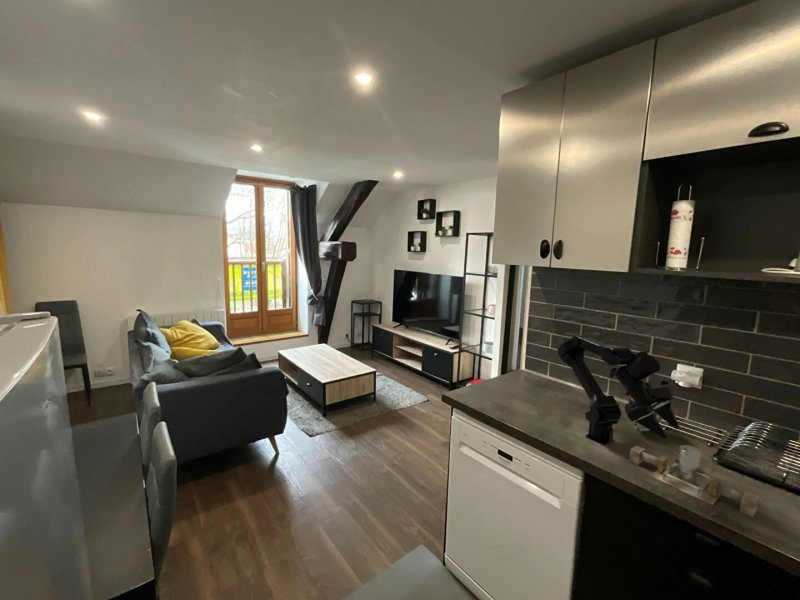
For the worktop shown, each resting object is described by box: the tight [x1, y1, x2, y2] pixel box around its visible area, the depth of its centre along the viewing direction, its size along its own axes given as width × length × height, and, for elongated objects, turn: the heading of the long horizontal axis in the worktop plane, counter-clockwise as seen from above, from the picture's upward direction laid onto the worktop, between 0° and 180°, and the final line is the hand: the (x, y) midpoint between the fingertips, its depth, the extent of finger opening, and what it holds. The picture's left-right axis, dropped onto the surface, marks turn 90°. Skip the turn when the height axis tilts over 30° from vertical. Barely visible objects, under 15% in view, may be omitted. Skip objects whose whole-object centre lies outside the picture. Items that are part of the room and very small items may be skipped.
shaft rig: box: [628, 445, 760, 518], centre depth 100 cm, size 28×10×4 cm, turn 35°
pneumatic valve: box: [624, 398, 662, 432], centre depth 129 cm, size 6×12×12 cm, turn 94°
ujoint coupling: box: [674, 444, 706, 486], centre depth 100 cm, size 7×4×10 cm
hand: (672, 433), depth 103 cm, fingers open, 9 cm apart
